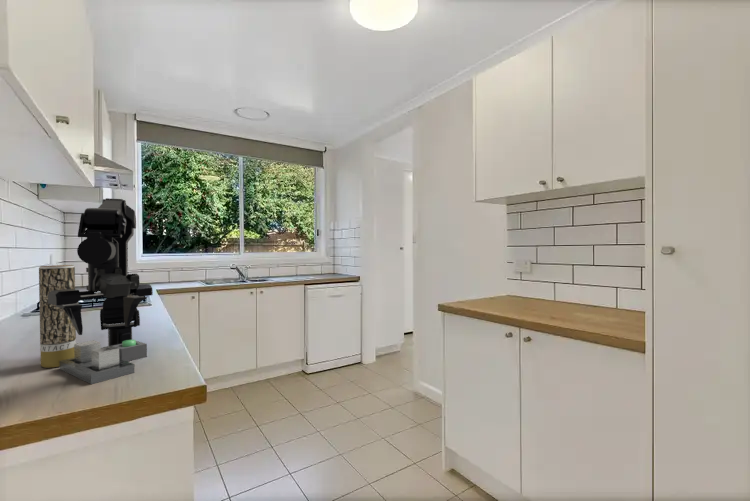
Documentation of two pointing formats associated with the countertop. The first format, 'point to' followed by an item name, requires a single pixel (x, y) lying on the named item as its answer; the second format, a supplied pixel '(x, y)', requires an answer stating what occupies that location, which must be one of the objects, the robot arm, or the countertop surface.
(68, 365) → the rectangular frame
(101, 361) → the block
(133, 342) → the button
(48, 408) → the countertop surface
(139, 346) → the grey hollow square block
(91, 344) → the block
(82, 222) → the robot arm
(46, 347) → the paper tube
